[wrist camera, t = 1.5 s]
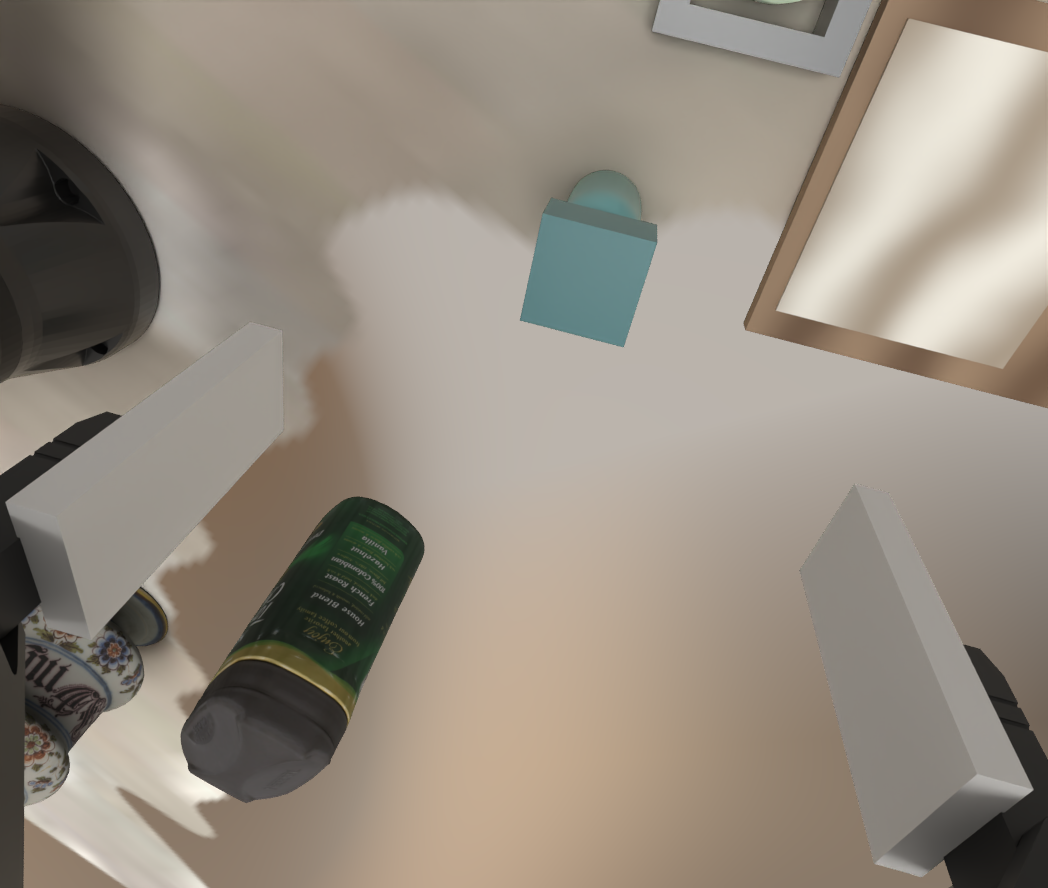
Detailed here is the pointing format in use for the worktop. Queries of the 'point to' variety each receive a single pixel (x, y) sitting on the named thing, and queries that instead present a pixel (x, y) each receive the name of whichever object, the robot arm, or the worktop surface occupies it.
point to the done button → (776, 1)
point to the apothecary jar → (79, 684)
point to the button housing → (769, 33)
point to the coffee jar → (304, 656)
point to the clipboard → (928, 204)
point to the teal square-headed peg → (591, 260)
